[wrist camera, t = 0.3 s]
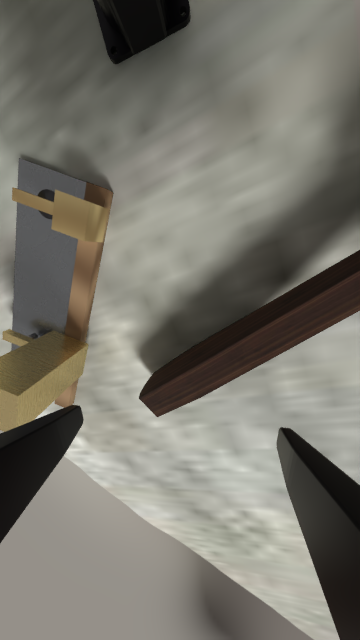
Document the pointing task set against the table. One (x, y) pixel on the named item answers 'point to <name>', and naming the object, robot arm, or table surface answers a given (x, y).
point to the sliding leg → (36, 374)
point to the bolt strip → (42, 255)
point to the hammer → (257, 337)
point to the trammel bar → (90, 230)
